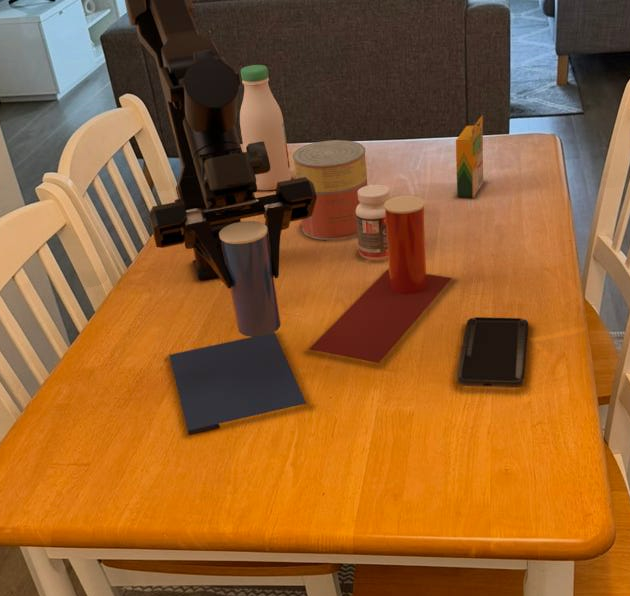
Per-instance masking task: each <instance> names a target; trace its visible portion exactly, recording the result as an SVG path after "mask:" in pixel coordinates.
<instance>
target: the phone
mask: <svg viewBox="0 0 630 596" xmlns="http://www.w3.org/2000/svg"><path fill="white" fill-rule="evenodd" d="M528 332H529V321H528V320H527V319H525V318H519V317H481V316H480V317H479V316H475V317H471V318H468V319H467V320H466V326H465V330H464V335H463V341H462V346H461V352H460V358H459V363H458V369H457V374H456V381H457V383H458V384H459V385H461V386H464V387H465V386H466V387H487V388H488V387H489V388H490V387H491V388H519V387H522V386H523V385H524V383H525V372H526V371H525V370H526V361H527V360H526V359H527V345H528Z"/></svg>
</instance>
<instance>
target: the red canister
mask: <svg viewBox="0 0 630 596" xmlns="http://www.w3.org/2000/svg"><path fill="white" fill-rule="evenodd" d="M384 208H385V218H386V233H387V248H388V257H387V263H388V269H389V279H390V288H391V289H392V290H393V291H394V292H397V293H401V294H412V293H417V292H420V291H422V290H423V289H425V288H426V286H427V276H426V274H427V256H426V255H427V253H426V252H427V249H426V227H425V226H426V225H425V200H424V199H423V198H422V197H419V196H416V195H397V196H394V197H390V198H389V200H387V201H386V202H385V203H384Z"/></svg>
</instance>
